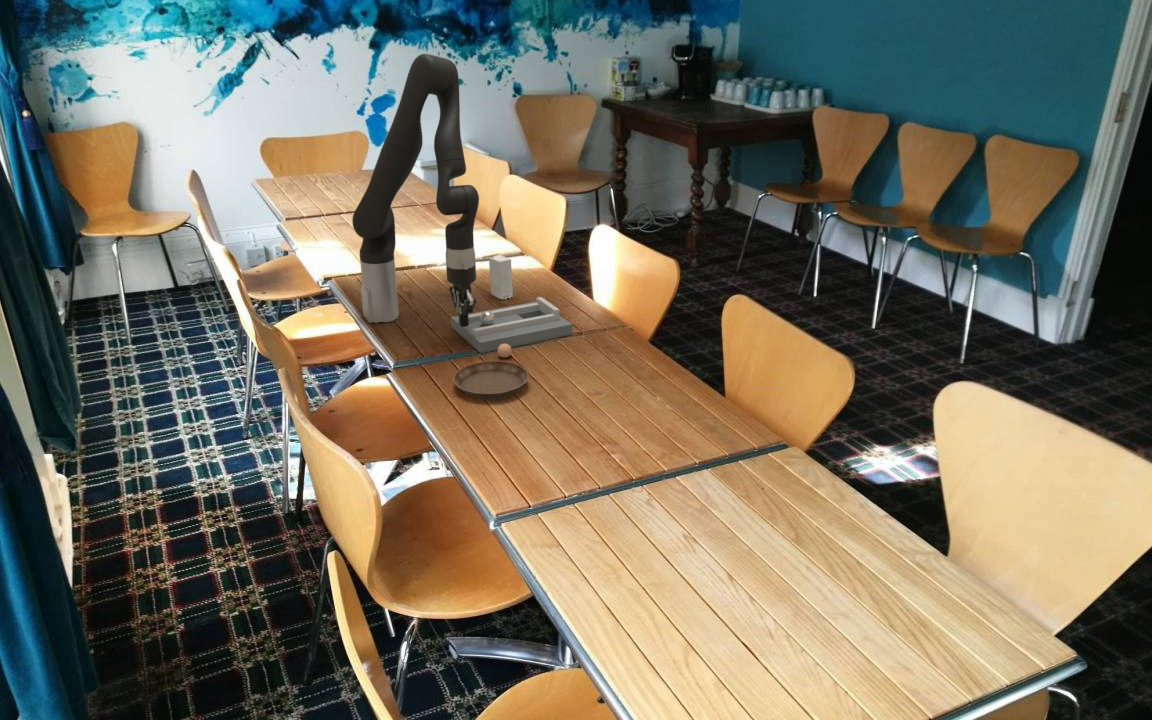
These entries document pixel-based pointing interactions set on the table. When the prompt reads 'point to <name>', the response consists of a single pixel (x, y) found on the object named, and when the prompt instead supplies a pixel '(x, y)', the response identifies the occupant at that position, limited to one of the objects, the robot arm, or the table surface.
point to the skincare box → (501, 277)
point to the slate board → (514, 326)
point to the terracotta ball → (504, 350)
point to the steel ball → (487, 318)
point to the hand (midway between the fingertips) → (464, 325)
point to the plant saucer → (491, 379)
